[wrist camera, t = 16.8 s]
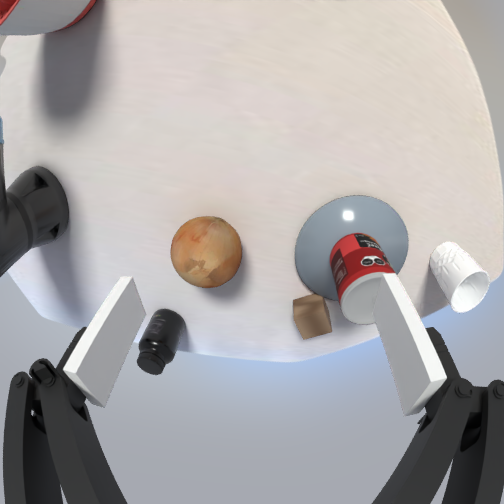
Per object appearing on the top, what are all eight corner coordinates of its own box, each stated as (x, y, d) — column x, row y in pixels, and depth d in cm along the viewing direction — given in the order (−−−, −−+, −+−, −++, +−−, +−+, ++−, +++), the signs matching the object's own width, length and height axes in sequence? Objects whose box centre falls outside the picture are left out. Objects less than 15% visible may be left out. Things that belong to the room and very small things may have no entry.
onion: (180, 256, 44) (158, 294, 35) (186, 198, 39) (160, 228, 30) (238, 269, 44) (229, 312, 35) (252, 213, 39) (243, 248, 30)
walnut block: (302, 319, 48) (303, 339, 44) (293, 299, 46) (293, 320, 42) (328, 311, 47) (332, 331, 43) (321, 291, 45) (324, 311, 41)
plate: (294, 297, 46) (294, 302, 45) (293, 194, 37) (294, 197, 36) (394, 293, 44) (396, 297, 43) (413, 195, 35) (416, 198, 34)
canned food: (387, 256, 39) (412, 302, 29) (345, 284, 42) (359, 334, 33) (362, 220, 36) (388, 262, 27) (318, 251, 40) (328, 301, 30)
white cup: (418, 263, 40) (442, 301, 32) (447, 229, 37) (478, 261, 28) (440, 283, 42) (463, 319, 33) (467, 252, 38) (495, 284, 30)
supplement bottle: (192, 329, 52) (175, 378, 42) (165, 334, 54) (146, 379, 44) (174, 304, 49) (152, 352, 39) (147, 310, 51) (123, 356, 41)
